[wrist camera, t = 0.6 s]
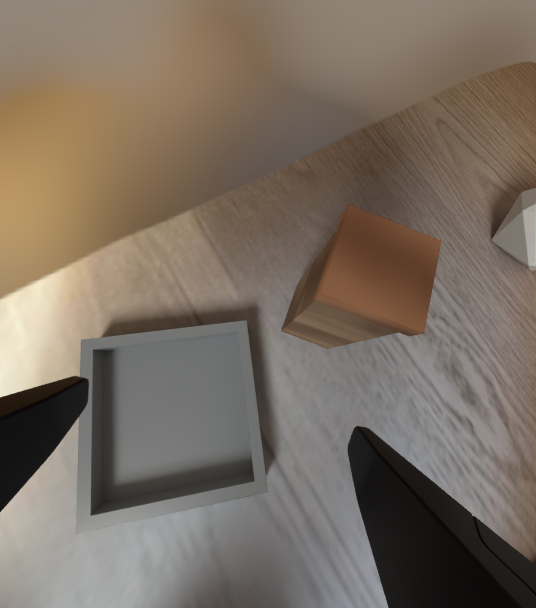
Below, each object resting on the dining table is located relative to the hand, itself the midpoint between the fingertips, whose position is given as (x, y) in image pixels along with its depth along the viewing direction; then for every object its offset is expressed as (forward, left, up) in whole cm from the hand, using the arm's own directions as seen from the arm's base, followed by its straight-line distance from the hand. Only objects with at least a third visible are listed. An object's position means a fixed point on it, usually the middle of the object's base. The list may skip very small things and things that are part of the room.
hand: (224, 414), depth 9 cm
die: (+10, -32, -13) cm, 36 cm away
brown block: (+5, -8, -13) cm, 16 cm away
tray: (-1, +4, -13) cm, 14 cm away
